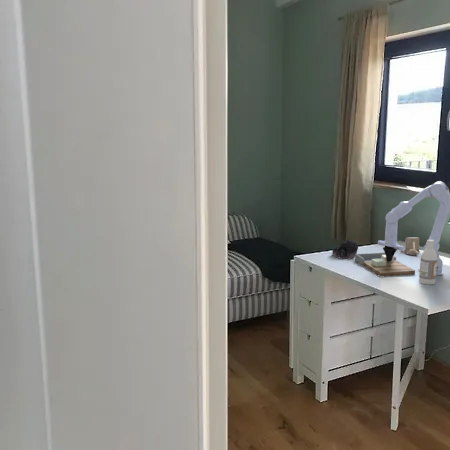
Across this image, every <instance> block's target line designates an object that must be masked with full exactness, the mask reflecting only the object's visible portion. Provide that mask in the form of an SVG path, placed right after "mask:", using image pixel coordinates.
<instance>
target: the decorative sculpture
mask: <svg viewBox="0 0 450 450" xmlns="http://www.w3.org/2000/svg"><path fill="white" fill-rule="evenodd" d="M404 242H405V243H404V245H405V246H404V248H405V249H404V250H401V251H400V254H404V255H408V256H409V255H410V256H417V255H419V254H420V252H419V250H420V237H414V236H413V237H405V241H404Z"/></svg>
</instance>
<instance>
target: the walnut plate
mask: <svg viewBox="0 0 450 450" xmlns="http://www.w3.org/2000/svg"><path fill="white" fill-rule="evenodd" d="M362 266H363V267H364V266H365V267H364V268H366V269H367V268H368V269H367V270H369V269H370V270H371V272H372V273H374V274H376V275H377V276H378V275H379V277H380V276H384V277H395V276H414V275H415V274H416V270H415V269H413V268H412V267H410V266H408V265H406V264H404V263H403V262H400V261H399V260H397V259H396V260H394V262H386V264H385V266H379V267H376V266H374V265H372V264H371V262H364V263H363V265H362ZM370 270H369V271H370Z"/></svg>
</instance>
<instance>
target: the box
mask: <svg viewBox="0 0 450 450" xmlns="http://www.w3.org/2000/svg"><path fill="white" fill-rule="evenodd" d="M382 255H386V254H385V252H373V253H372V252H371V253H370V252H369V253H357V254H355V257H354V261H355V262H356V263H358V264H360V265H362V266H363V263H364V262H371V261H372V259H381V257H382ZM393 257H394V260H397V257H396V256H393Z"/></svg>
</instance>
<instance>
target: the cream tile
mask: <svg viewBox="0 0 450 450" xmlns="http://www.w3.org/2000/svg"><path fill="white" fill-rule="evenodd" d="M381 259H383V260H384V261H386V262H388V261H387V259H386V255H382V257H381ZM391 262H394V257H393V258H392V261H391Z"/></svg>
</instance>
